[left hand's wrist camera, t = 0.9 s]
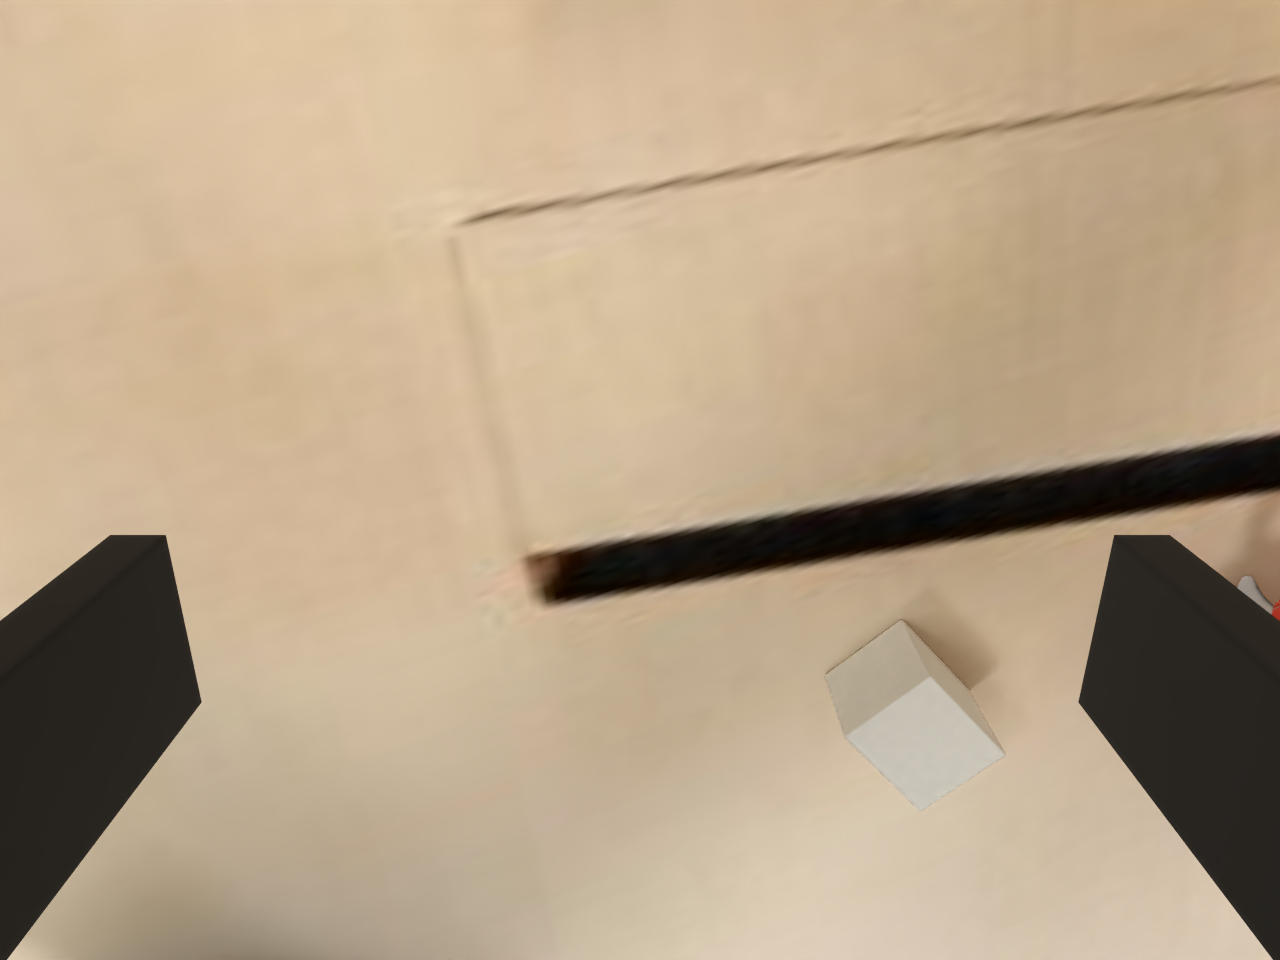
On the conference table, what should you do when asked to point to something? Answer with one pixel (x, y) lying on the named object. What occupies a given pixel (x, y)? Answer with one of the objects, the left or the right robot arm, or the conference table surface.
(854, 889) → the conference table surface
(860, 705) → the block
